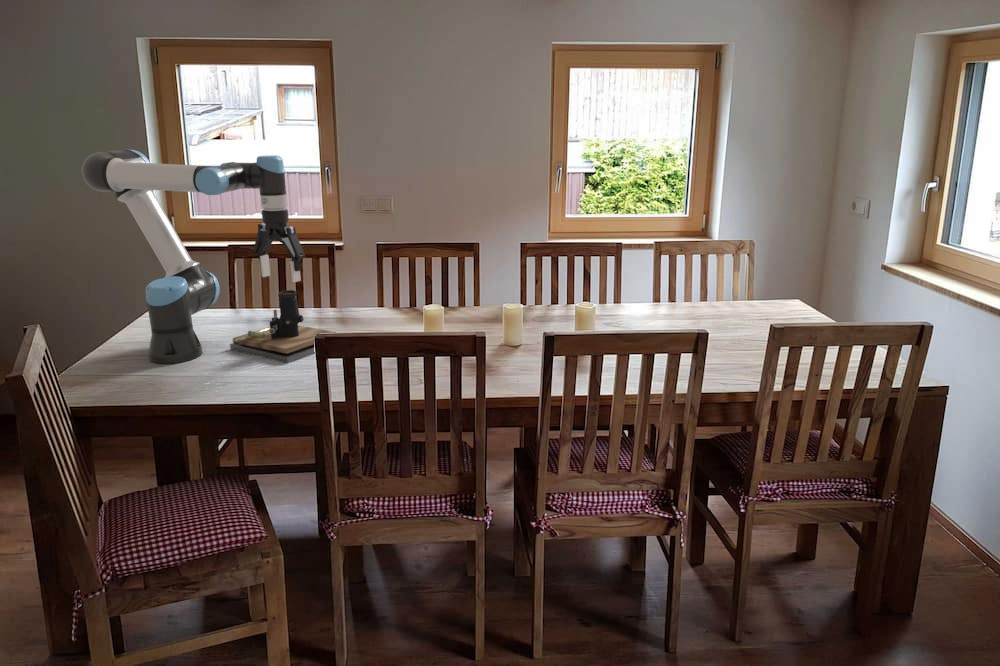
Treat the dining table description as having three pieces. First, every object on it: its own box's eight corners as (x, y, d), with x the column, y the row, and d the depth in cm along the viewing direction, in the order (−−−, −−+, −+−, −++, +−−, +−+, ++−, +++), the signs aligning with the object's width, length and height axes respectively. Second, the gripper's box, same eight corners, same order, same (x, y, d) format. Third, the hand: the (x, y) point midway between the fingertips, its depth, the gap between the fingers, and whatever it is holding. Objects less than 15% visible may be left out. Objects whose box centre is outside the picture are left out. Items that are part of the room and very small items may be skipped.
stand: (230, 349, 248) (229, 338, 247) (285, 331, 265) (284, 321, 264) (287, 363, 234) (286, 351, 232) (341, 343, 251) (340, 332, 250)
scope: (270, 290, 247) (302, 288, 248) (275, 333, 251) (307, 331, 251) (264, 296, 239) (297, 294, 240) (269, 340, 243) (302, 338, 244)
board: (238, 343, 246) (237, 332, 245) (288, 328, 262) (287, 317, 261) (287, 353, 234) (285, 341, 233) (336, 336, 250) (335, 325, 249)
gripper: (236, 207, 240) (244, 276, 246) (293, 213, 227) (300, 286, 233) (256, 204, 246) (263, 271, 252) (313, 210, 233) (319, 281, 239)
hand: (281, 278), depth 243 cm, fingers open, 13 cm apart
